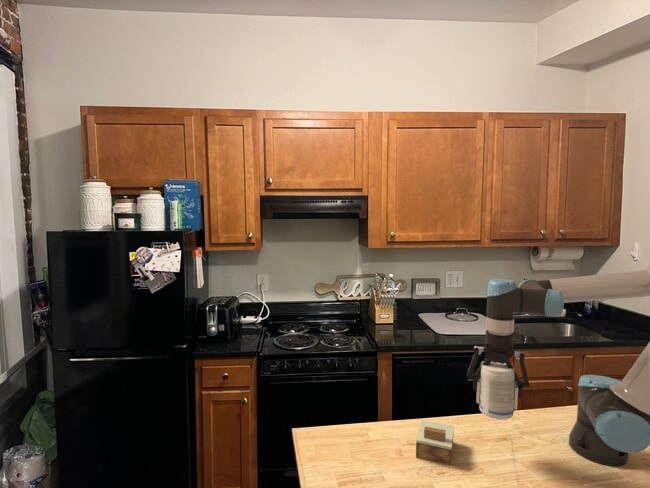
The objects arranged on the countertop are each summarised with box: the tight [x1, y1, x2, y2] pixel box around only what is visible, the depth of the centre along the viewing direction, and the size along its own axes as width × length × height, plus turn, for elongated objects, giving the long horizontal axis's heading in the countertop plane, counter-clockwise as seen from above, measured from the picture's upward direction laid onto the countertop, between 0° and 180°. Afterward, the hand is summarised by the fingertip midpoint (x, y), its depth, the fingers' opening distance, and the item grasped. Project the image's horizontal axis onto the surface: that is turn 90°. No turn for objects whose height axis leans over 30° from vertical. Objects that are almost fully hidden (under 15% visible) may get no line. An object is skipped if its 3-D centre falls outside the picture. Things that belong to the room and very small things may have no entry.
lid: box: [415, 419, 454, 451], centre depth 120 cm, size 10×12×3 cm
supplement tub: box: [478, 361, 516, 421], centre depth 117 cm, size 10×10×15 cm
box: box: [415, 430, 454, 466], centre depth 120 cm, size 10×12×5 cm
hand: (496, 404), depth 118 cm, fingers closed on supplement tub, 10 cm apart
